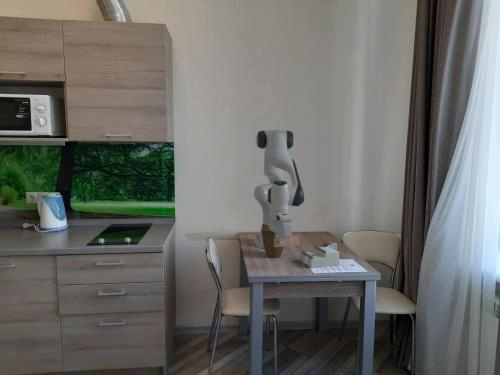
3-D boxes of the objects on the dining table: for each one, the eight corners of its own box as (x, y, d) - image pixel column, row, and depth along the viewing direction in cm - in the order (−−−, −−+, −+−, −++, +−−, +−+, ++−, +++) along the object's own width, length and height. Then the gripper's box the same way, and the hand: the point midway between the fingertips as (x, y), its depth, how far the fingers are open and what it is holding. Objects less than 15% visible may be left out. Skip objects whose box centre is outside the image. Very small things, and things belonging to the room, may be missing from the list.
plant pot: (265, 261, 179) (266, 231, 177) (257, 253, 193) (257, 226, 192) (291, 259, 183) (292, 230, 182) (281, 251, 197) (282, 224, 196)
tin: (333, 252, 196) (334, 238, 195) (338, 253, 194) (339, 239, 193) (320, 258, 185) (320, 243, 184) (325, 259, 183) (325, 244, 182)
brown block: (273, 246, 163) (273, 237, 163) (298, 244, 167) (298, 235, 167) (275, 247, 161) (275, 237, 161) (299, 244, 166) (299, 235, 165)
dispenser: (301, 261, 179) (301, 246, 178) (327, 259, 184) (328, 244, 183) (311, 268, 168) (311, 252, 167) (339, 265, 173) (339, 249, 172)
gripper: (265, 211, 170) (265, 238, 172) (282, 218, 151) (281, 248, 152) (277, 210, 172) (276, 237, 174) (294, 218, 153) (294, 247, 154)
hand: (279, 242), depth 163 cm, fingers closed on brown block, 2 cm apart
